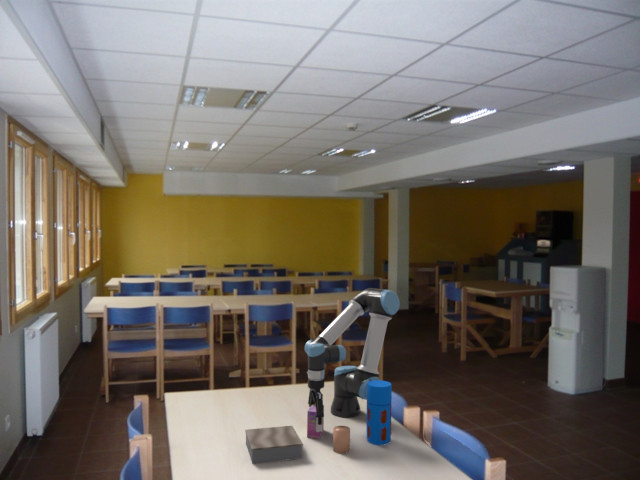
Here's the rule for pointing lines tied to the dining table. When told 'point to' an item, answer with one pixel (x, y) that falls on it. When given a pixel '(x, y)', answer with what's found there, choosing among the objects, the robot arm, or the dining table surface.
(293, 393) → the dining table surface
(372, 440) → the thermos
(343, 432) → the tan rounded cylinder
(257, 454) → the podium
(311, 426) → the box
